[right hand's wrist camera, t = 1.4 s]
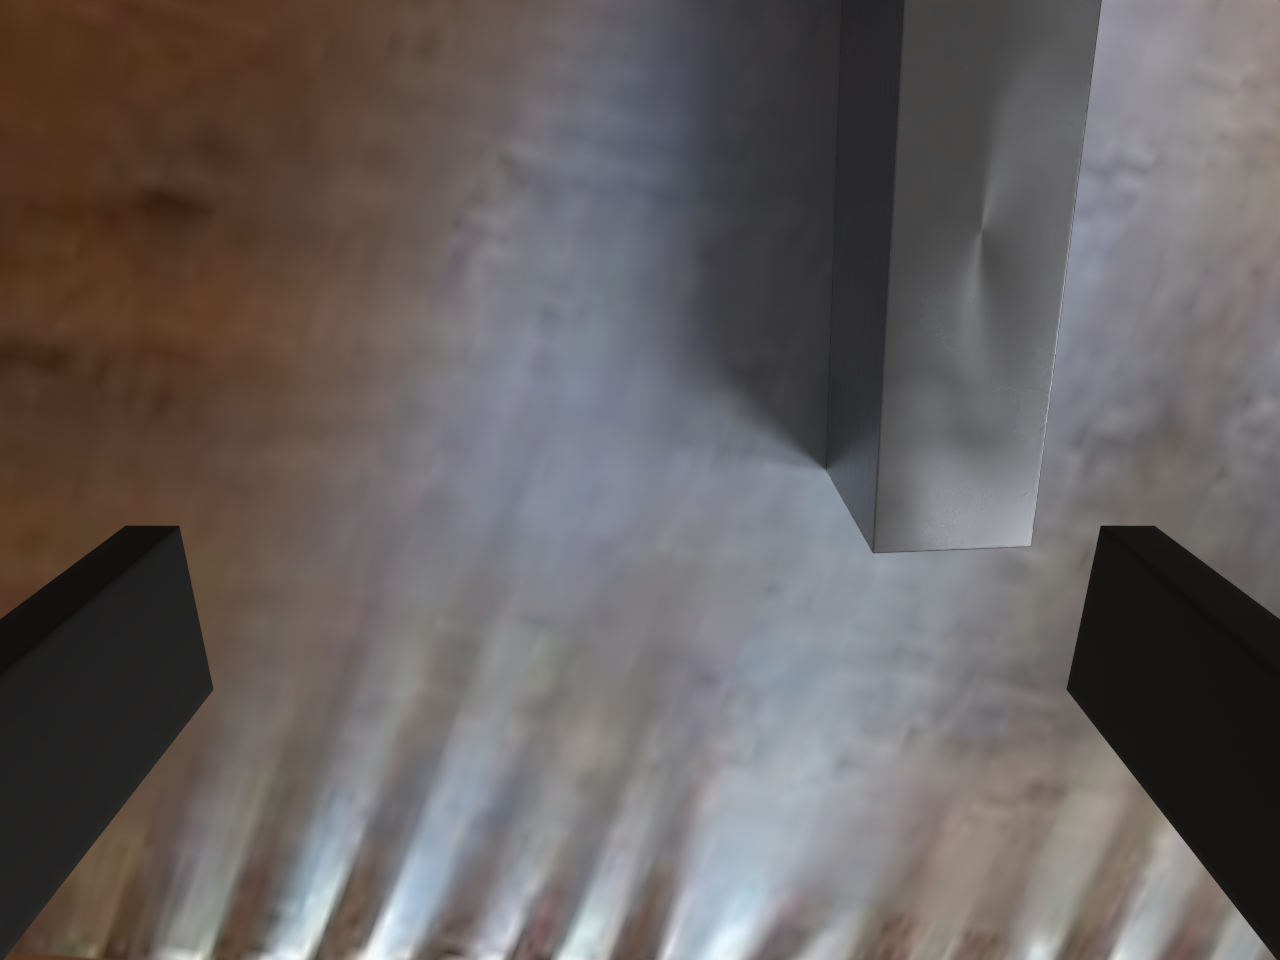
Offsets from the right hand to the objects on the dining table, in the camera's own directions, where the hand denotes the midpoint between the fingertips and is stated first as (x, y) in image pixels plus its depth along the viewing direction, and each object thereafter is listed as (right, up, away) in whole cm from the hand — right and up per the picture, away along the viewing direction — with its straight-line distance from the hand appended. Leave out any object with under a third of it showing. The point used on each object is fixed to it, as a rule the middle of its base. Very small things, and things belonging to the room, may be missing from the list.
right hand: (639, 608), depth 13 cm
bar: (+11, +13, +23) cm, 28 cm away
